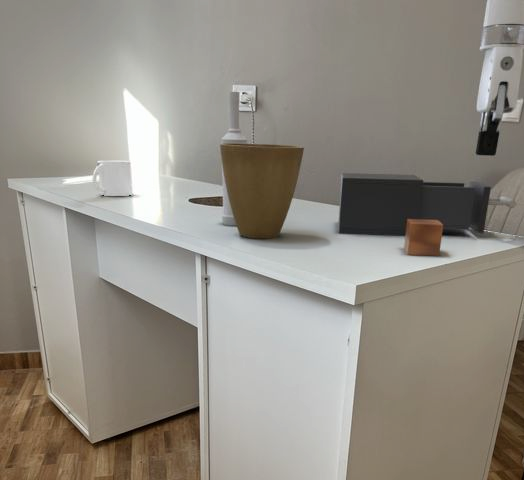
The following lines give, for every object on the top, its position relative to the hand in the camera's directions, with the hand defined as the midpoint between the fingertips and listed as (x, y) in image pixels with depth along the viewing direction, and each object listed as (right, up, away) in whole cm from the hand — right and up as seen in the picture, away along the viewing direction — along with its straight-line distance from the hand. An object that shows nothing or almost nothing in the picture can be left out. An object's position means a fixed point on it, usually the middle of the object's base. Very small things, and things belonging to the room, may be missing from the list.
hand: (485, 155), depth 101 cm
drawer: (-2, -11, +10) cm, 15 cm away
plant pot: (-41, -14, +3) cm, 43 cm away
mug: (-84, +9, +59) cm, 103 cm away
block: (-14, -19, -9) cm, 26 cm away
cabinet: (-18, -11, +12) cm, 24 cm away
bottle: (-46, -9, +15) cm, 50 cm away
